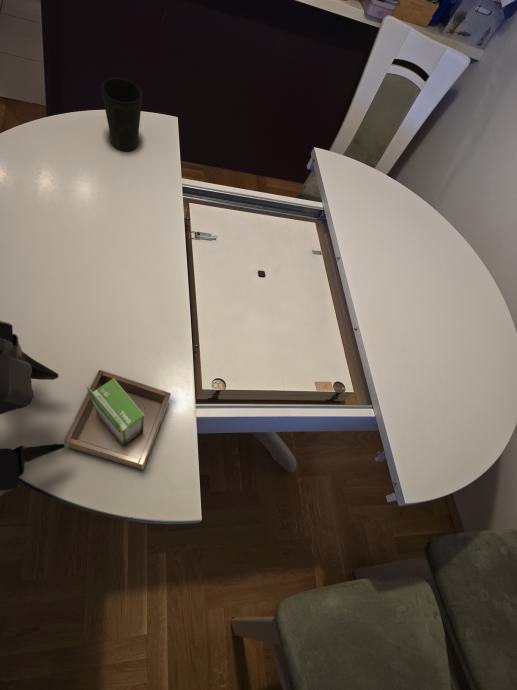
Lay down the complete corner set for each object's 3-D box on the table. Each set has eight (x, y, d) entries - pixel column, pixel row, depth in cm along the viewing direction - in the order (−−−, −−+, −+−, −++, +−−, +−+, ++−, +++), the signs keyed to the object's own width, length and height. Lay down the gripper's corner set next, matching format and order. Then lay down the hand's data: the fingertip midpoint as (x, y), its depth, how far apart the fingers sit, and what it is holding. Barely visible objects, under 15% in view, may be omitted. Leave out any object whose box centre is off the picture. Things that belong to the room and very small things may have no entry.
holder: (69, 447, 58) (63, 441, 54) (102, 380, 64) (99, 369, 60) (143, 470, 60) (143, 465, 55) (168, 402, 65) (170, 393, 61)
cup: (104, 130, 87) (98, 75, 77) (139, 131, 90) (138, 78, 79) (109, 155, 84) (104, 102, 74) (145, 155, 87) (145, 104, 77)
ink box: (145, 430, 61) (145, 407, 50) (123, 447, 59) (118, 426, 48) (118, 397, 62) (112, 366, 51) (95, 413, 60) (84, 384, 49)
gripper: (-50, 482, 29) (114, 467, 43) (-47, 275, 36) (94, 319, 49) (-121, 516, 33) (49, 493, 47) (-106, 325, 40) (39, 353, 53)
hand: (59, 410), depth 49 cm, fingers open, 9 cm apart
